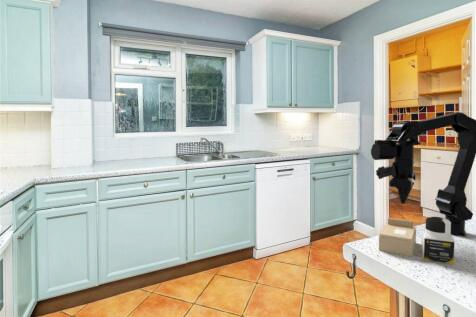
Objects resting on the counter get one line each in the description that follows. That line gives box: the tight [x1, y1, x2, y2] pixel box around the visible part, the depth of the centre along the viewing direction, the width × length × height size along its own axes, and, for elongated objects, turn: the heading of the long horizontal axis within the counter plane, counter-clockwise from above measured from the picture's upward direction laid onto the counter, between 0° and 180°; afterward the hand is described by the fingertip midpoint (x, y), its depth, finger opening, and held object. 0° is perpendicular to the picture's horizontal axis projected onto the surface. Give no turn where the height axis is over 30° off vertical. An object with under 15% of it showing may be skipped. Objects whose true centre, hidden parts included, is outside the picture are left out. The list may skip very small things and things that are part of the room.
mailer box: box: [378, 228, 417, 257], centre depth 94 cm, size 12×9×5 cm
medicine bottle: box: [421, 216, 456, 265], centre depth 86 cm, size 7×7×12 cm
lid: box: [379, 217, 416, 241], centre depth 94 cm, size 12×9×3 cm
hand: (403, 203), depth 102 cm, fingers closed
